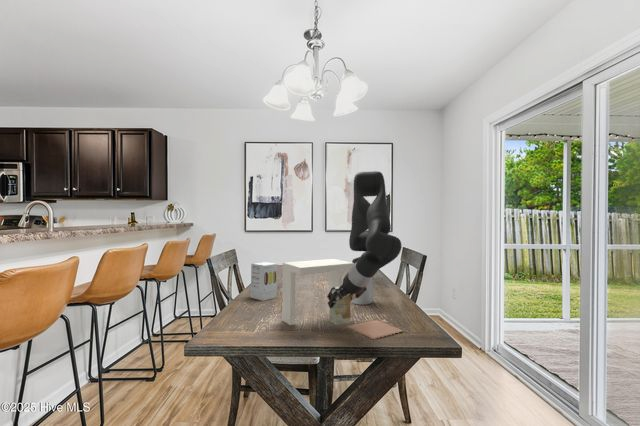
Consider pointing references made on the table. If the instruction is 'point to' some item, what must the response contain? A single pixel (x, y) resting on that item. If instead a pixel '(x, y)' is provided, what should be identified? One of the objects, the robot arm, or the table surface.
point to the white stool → (308, 267)
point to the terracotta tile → (374, 329)
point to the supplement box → (264, 281)
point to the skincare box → (341, 310)
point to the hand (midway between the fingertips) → (337, 304)
